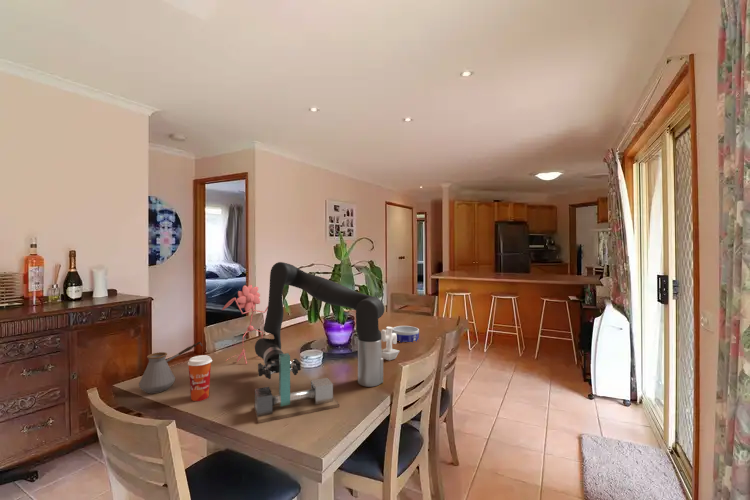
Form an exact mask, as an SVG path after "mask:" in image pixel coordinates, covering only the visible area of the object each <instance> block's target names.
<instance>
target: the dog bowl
mask: <svg viewBox="0 0 750 500" xmlns="http://www.w3.org/2000/svg"><path fill="white" fill-rule="evenodd" d="M392 333H396V335H397V341H400V342H399V343H402V342H412V343H414V342H413V341H416V342H418V341H419V340H420V329H419V328H418V327H415V326H410V325H398V326H394V327H393V326H392ZM418 339H419V340H418ZM417 340H418V341H417Z"/></svg>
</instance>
